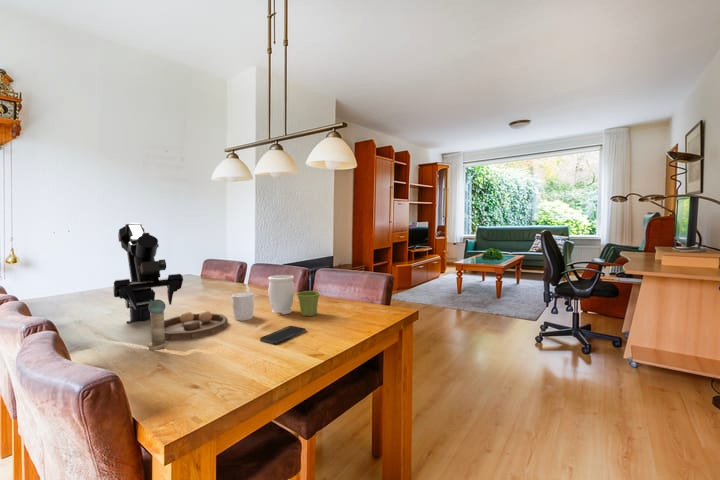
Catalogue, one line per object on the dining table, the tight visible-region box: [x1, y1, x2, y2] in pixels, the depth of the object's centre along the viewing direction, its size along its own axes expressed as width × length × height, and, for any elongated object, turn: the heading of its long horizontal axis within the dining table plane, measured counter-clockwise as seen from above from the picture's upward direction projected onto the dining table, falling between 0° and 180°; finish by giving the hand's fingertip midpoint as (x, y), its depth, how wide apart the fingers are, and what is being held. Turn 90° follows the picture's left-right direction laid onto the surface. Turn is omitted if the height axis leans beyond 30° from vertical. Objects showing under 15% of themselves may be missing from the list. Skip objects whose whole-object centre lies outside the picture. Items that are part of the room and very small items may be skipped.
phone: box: [259, 325, 307, 346], centre depth 111 cm, size 8×1×15 cm
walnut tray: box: [164, 312, 229, 341], centre depth 116 cm, size 22×22×3 cm
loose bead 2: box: [199, 310, 212, 323], centre depth 122 cm, size 4×4×4 cm
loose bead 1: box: [179, 311, 194, 324], centre depth 121 cm, size 4×4×4 cm
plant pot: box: [296, 290, 321, 317], centre depth 136 cm, size 9×9×9 cm
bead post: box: [148, 299, 169, 351], centre depth 101 cm, size 5×5×15 cm
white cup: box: [231, 291, 255, 321], centre depth 128 cm, size 8×8×10 cm
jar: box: [267, 274, 295, 316], centre depth 139 cm, size 11×10×15 cm
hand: (153, 306), depth 105 cm, fingers open, 9 cm apart
